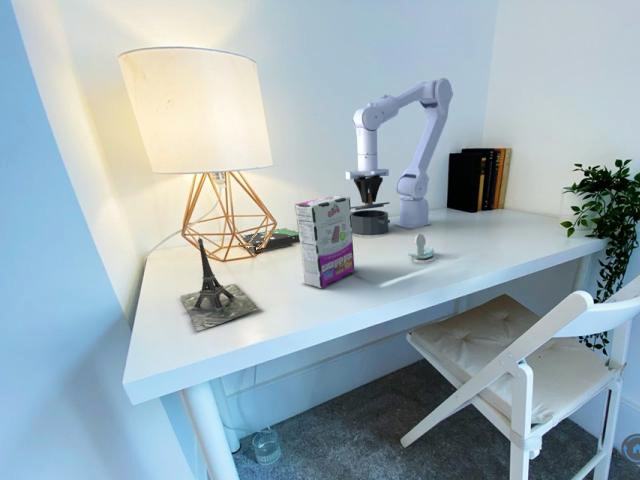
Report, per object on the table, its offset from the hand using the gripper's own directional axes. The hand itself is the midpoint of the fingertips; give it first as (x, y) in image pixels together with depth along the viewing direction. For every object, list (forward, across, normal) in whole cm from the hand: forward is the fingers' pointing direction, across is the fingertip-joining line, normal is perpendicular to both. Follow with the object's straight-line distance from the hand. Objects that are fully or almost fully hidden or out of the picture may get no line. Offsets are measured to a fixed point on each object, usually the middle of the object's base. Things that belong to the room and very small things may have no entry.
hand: (368, 202), depth 104 cm
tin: (+9, 0, 0) cm, 9 cm away
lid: (+1, 0, 0) cm, 1 cm away
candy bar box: (+10, -30, -25) cm, 40 cm away
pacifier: (+10, -7, -30) cm, 32 cm away
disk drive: (+10, -29, +8) cm, 32 cm away
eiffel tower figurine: (+10, -52, -23) cm, 58 cm away
